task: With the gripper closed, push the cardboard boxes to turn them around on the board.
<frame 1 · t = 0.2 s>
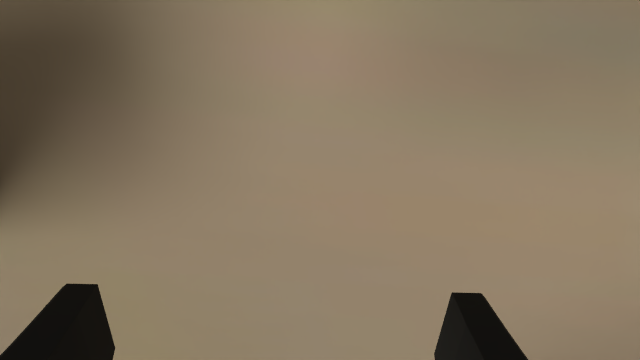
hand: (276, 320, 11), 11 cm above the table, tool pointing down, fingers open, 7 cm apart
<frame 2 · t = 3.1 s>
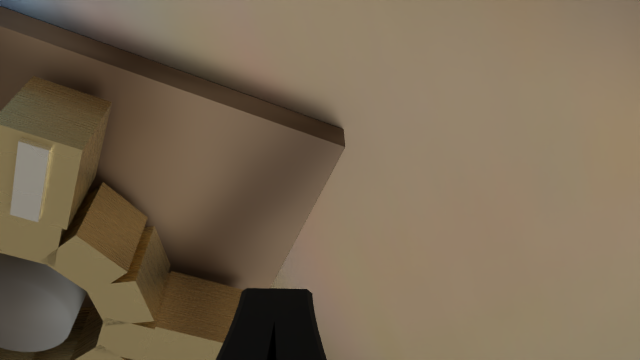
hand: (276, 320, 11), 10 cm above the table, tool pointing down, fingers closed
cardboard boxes: (28, 286, 20), point 3 cm above the table, hinge at 0.0°
board: (59, 229, 23), on the table
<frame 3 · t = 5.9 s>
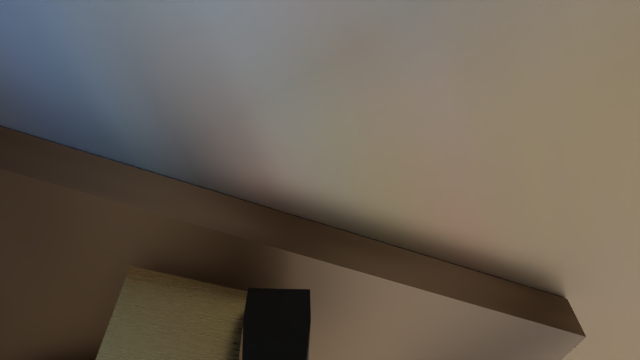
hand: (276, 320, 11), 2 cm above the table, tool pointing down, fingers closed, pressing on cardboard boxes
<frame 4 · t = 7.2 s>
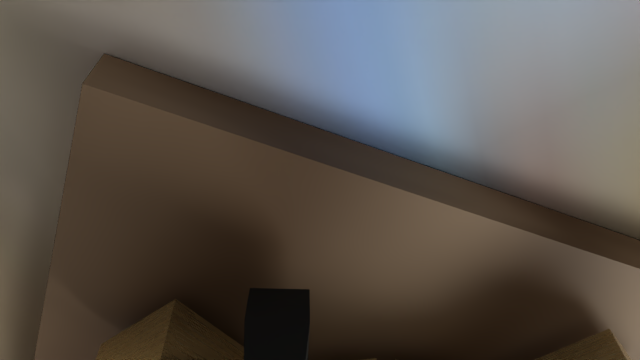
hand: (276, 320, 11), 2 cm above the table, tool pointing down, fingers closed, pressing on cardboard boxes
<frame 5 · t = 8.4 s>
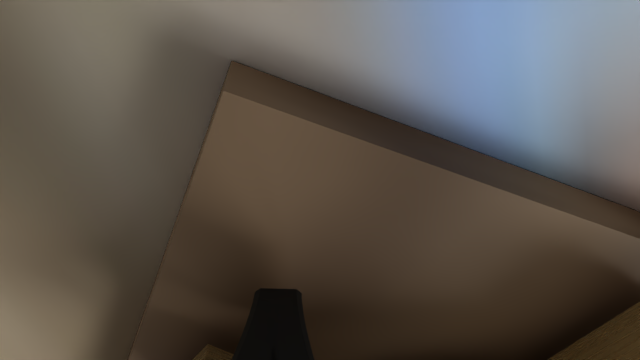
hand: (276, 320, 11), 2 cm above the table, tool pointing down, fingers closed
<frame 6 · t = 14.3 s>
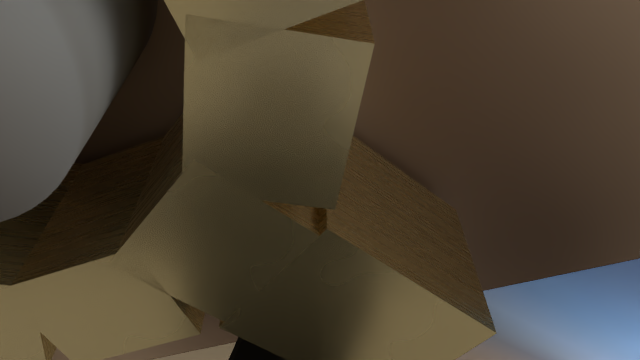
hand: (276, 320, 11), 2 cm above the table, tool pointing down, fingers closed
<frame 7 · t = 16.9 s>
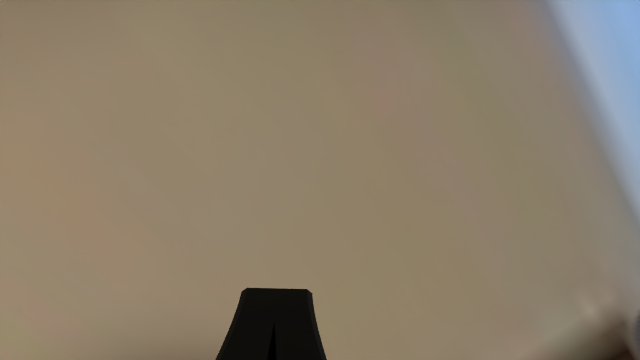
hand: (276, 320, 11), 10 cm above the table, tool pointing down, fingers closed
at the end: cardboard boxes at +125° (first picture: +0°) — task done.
